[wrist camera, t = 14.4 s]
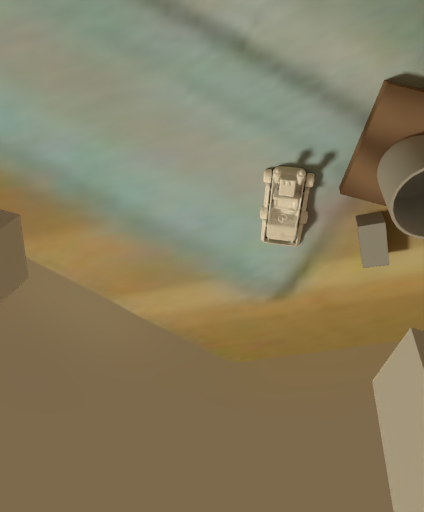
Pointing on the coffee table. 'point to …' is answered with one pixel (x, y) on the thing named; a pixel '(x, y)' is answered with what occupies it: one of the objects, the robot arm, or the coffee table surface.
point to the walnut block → (383, 138)
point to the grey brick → (372, 239)
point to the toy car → (285, 204)
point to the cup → (404, 184)
